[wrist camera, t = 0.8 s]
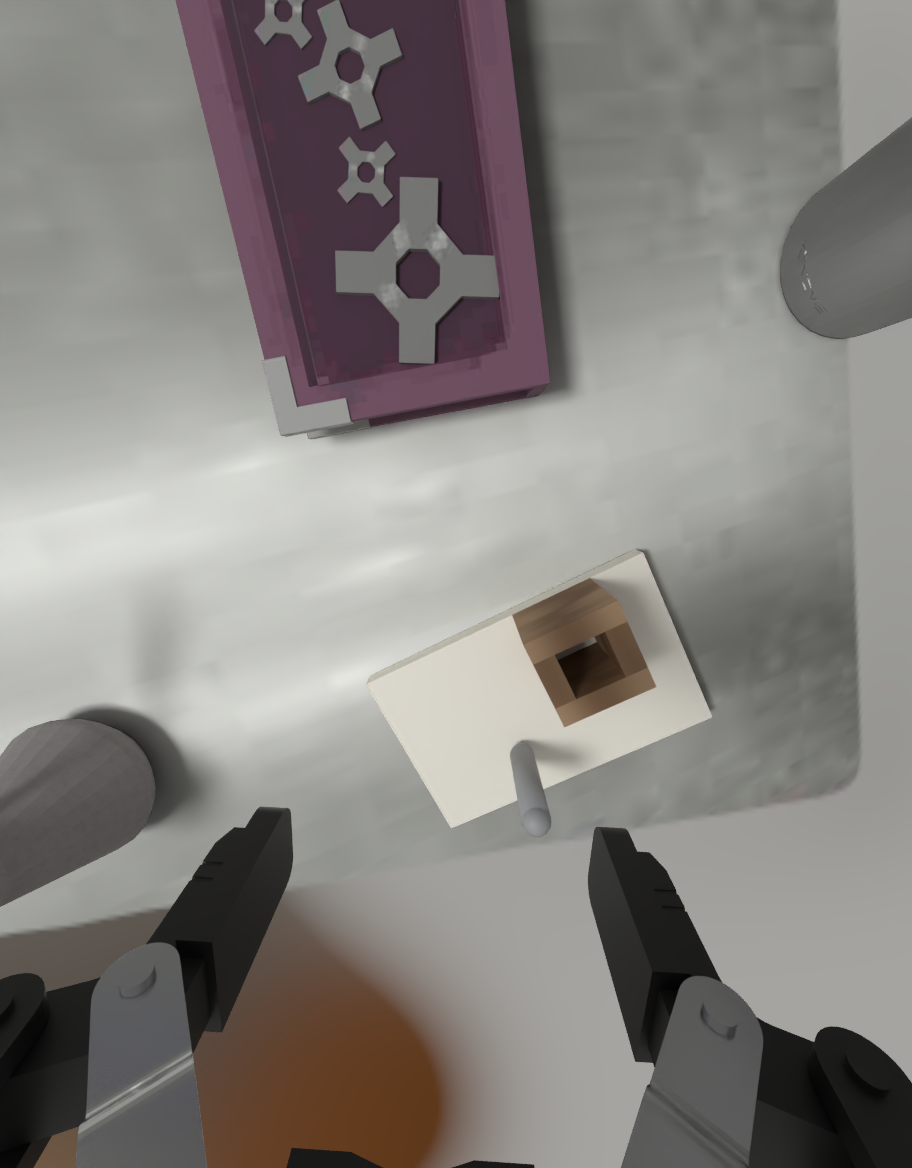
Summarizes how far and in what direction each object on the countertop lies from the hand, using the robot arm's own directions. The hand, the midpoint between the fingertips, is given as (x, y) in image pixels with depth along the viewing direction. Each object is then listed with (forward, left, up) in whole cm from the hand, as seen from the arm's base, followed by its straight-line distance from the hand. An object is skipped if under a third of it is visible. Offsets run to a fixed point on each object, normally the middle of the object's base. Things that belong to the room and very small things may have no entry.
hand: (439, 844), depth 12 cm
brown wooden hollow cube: (-7, +5, -21) cm, 23 cm away
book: (-8, -25, -24) cm, 35 cm away
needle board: (-3, +9, -23) cm, 25 cm away
